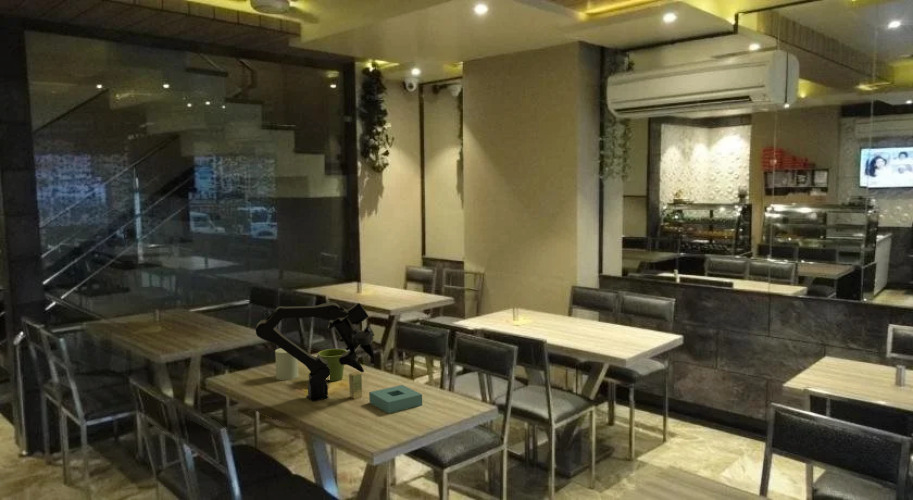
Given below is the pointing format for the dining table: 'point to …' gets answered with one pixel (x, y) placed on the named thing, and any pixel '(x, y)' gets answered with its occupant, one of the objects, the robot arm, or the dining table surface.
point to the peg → (355, 385)
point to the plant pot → (334, 362)
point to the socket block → (395, 398)
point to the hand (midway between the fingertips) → (368, 364)
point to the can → (285, 365)
